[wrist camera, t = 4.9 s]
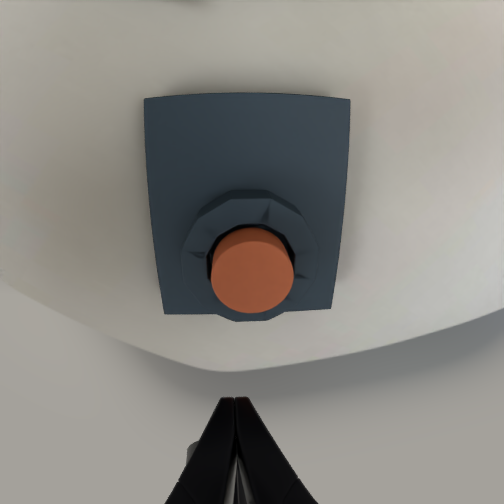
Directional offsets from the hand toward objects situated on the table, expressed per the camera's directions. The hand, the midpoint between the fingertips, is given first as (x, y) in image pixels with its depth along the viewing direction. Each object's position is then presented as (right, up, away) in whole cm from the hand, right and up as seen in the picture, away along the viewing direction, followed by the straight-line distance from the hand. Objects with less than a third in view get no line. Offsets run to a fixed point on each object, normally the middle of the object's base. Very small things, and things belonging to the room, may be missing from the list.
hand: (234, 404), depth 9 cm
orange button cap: (0, +4, +6) cm, 7 cm away
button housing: (0, +7, +9) cm, 11 cm away
